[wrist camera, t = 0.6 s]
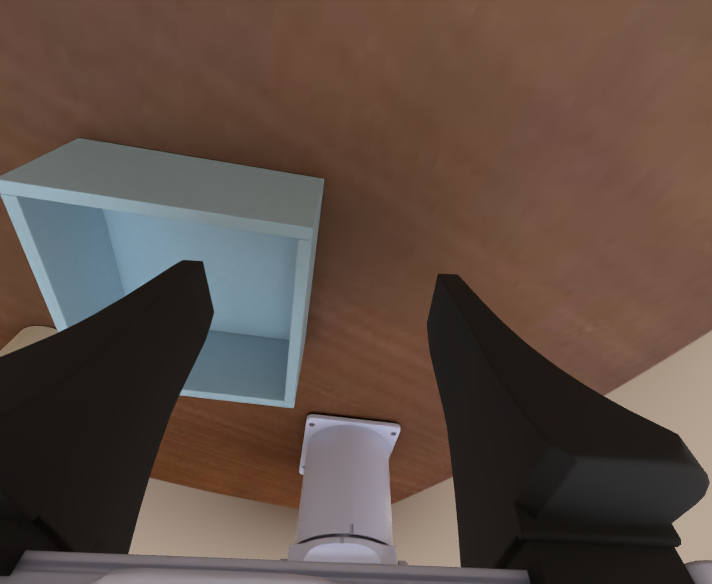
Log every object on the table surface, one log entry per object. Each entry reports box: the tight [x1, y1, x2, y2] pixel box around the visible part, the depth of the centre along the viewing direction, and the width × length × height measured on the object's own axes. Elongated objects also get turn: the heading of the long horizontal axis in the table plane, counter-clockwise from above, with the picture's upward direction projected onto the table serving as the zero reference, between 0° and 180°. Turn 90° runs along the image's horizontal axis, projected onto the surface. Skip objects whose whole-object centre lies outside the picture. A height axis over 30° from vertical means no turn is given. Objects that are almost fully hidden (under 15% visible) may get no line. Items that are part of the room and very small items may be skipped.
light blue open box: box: [0, 138, 324, 408], centre depth 21 cm, size 12×12×6 cm
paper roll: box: [0, 326, 58, 357], centre depth 25 cm, size 5×5×7 cm
